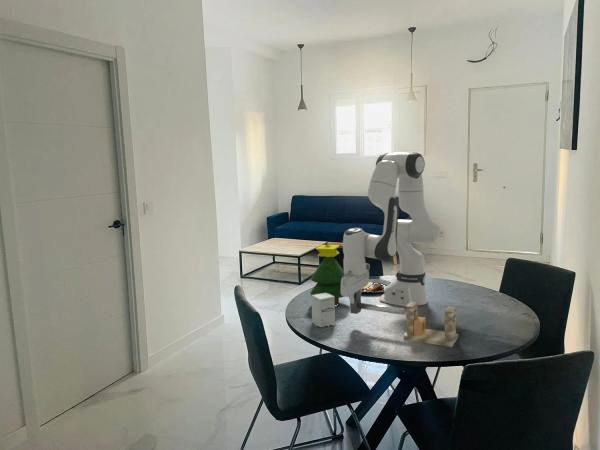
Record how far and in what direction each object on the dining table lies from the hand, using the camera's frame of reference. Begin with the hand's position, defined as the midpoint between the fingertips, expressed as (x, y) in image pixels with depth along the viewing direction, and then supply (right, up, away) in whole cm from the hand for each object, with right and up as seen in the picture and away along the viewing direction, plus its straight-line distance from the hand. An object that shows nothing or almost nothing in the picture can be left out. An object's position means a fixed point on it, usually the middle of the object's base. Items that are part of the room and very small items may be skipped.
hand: (355, 301), depth 192 cm
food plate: (+15, -3, +53) cm, 55 cm away
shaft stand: (+27, -12, -14) cm, 33 cm away
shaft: (+8, -5, -4) cm, 11 cm away
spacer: (+23, -10, -12) cm, 28 cm away
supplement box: (-13, -11, +5) cm, 17 cm away
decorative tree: (-8, -7, +30) cm, 32 cm away
